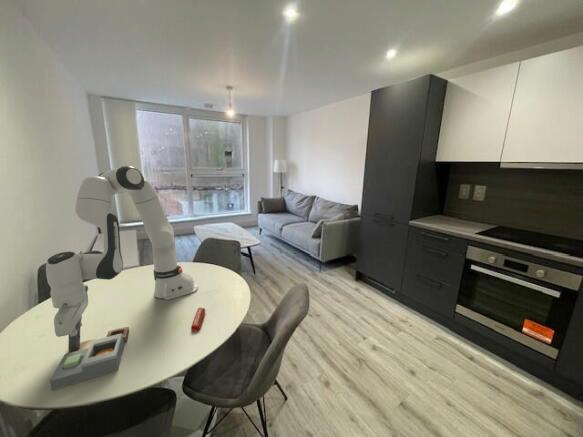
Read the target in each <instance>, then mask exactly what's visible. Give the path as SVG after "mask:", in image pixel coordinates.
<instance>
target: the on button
mask: <svg viewBox="0 0 583 437" xmlns="http://www.w3.org/2000/svg"><path fill="white" fill-rule="evenodd" d="M81 361H82V354H77V355H73V356H70V357H67V359H66V361H65V363H64V369H67V368H70V367H74V366H77V365H80V363H81Z"/></svg>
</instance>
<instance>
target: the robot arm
mask: <svg viewBox="0 0 583 437" xmlns="http://www.w3.org/2000/svg"><path fill="white" fill-rule="evenodd" d="M77 192H78V193H77V196H76V201H75V202H76V203H75V213H76V215H77V217H78V218H79V219H80V220H82V221H83V222H85V223H87V224H90V225H92V226H95V227H98V228H99V229H100V230H101V231H102V233H103V234H102V236H103V252H102V253H76V252H74V251H63V252H59V253H55V254H53V255H52V256H50V257H49V258H47V261H46V263H45V274H46V280H47V284H48V285H49V286H50V297H51V302H52V307H53V308H54V309H58V310H57V312H56V314H55V315H54V318H53V325H54V333H55V336H56V337H57V338H60V337H65V336H69V334H70V336H76V335H77V333H78V331H77V329H76V328H75V327H76V324H77V322H79V323H80V328H81V327H82V326H83V323H82V319H83V314H84V312H85V311H86V309H87V307H88V306H89V296H88V290H89V285H88V284H86V285H85V284H84V283H83V281H84V280H113V279H114V278H115V277H117V276H118V275H119V274H120V273H121V272H122V271H123V268H124V260H123V257H122V252H121V236H120V225H119V220H118V217H117V215H115V214H113V211H112V202H113V200H112V199H113V196H114V195H116V194H118V195H119V194H124V193H127V194H128V195H129V196H130V197H131V200H132V202H133V204H134V206H135V208H136V211H137V212H138V215H139V217H140V218H141V221H142V224H143V227H144V228H145V231H146V234H147V236H148V238H149V241H150V243H151V245H152V246H151V247H152V248H151V249H152V260H153V262H152V263H153V279H154V283H155V284H154V292H153V296H154V297H155V298H158V299H162V300H166V301H170V300H172V299H175V298H178V297H182V296H186V295H188V294H189V295H190V294H192V293H195V292H197V290H198V288H199V284H198V282H197V281H196V280H194V279H193V277H192V276H191V274H189V273H187V272H184V271H183V268H182V266H181V265H180V264H179V265H178V262H177V253H176V252H177V251H176V242H175V232H174V231H175V230H174V227H173V226H172V225H171V224H172V223H171V224H170V222H169V219H168V217H167V214H166V211H165V209H164V207H163V205H162V202H161V200H160V198H159V195H158V194H157V192H156V190H155V188H154V187H153V185H152V184H151V182H150V181H149V180H148V179H147V178H144V175H143V174H142V173H141V171H140V170H139V169H138V168H136V167H135V166H133V165H124V166H119V167H114V168H111V169H109V170H107V171H104V172H101V173H100V174H99V175H90V176H87V177H85V178H84V179H83V181H82V183H81V185H80V187H79V189H78V191H77Z"/></svg>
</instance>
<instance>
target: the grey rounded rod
mask: <svg viewBox="0 0 583 437" xmlns="http://www.w3.org/2000/svg"><path fill="white" fill-rule="evenodd" d="M75 328H76V329H77V331H78V333H77V335H76V336H70V334H69V335H68V344H67V347H68V348H67V350H68V351H69V352H75V351H78V350H79V349H80V342H81V327H80V323H79V322H77V324H76V327H75Z"/></svg>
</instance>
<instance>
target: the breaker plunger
mask: <svg viewBox="0 0 583 437" xmlns="http://www.w3.org/2000/svg"><path fill="white" fill-rule="evenodd" d="M112 351H114V349H113V348H106V349H103V350H101V351H100V352H98V353H97V354H96V356H98V355H101V354H105V353H109V352H112Z"/></svg>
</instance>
